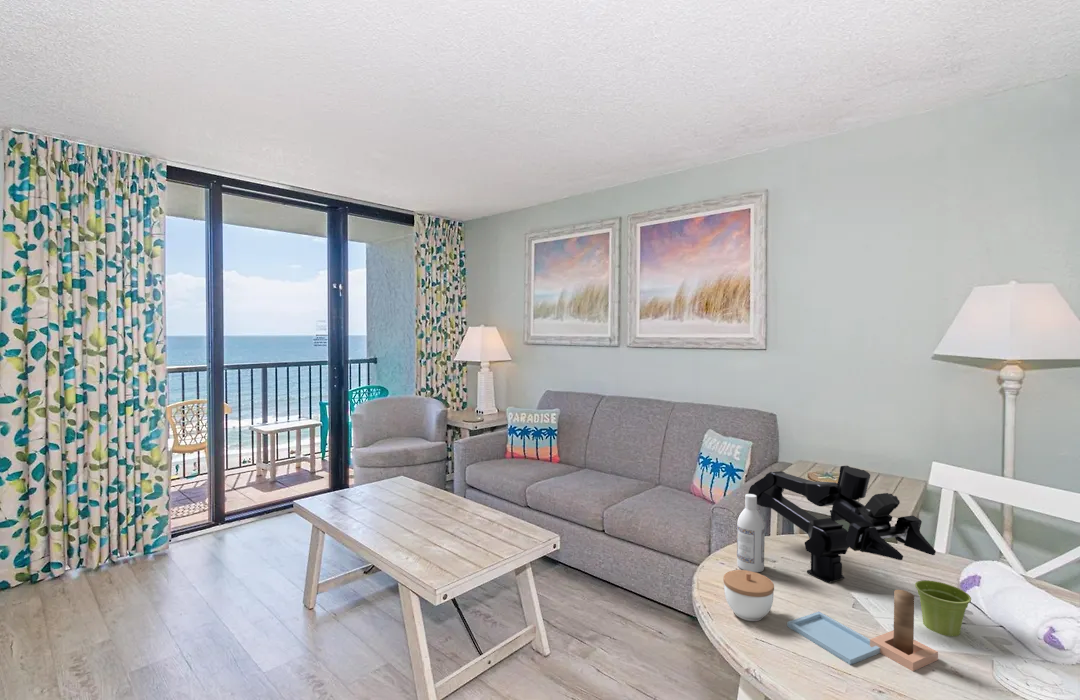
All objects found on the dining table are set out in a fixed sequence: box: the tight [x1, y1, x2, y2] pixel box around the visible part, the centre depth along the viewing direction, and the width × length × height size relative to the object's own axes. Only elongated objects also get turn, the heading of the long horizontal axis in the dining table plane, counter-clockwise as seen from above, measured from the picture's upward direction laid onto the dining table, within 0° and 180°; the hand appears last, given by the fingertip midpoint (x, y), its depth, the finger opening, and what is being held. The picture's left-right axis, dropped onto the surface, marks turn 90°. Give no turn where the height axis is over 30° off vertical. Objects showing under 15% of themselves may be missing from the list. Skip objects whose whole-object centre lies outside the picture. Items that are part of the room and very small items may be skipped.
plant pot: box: [914, 579, 972, 637], centre depth 108 cm, size 9×9×9 cm
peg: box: [893, 589, 915, 655], centre depth 99 cm, size 3×3×12 cm
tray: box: [786, 611, 881, 666], centre depth 104 cm, size 14×10×2 cm
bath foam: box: [736, 493, 766, 573], centre depth 137 cm, size 7×7×20 cm
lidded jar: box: [723, 569, 775, 622], centre depth 114 cm, size 11×11×9 cm
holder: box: [869, 629, 939, 672], centre depth 99 cm, size 8×8×2 cm
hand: (918, 555), depth 108 cm, fingers open, 9 cm apart
